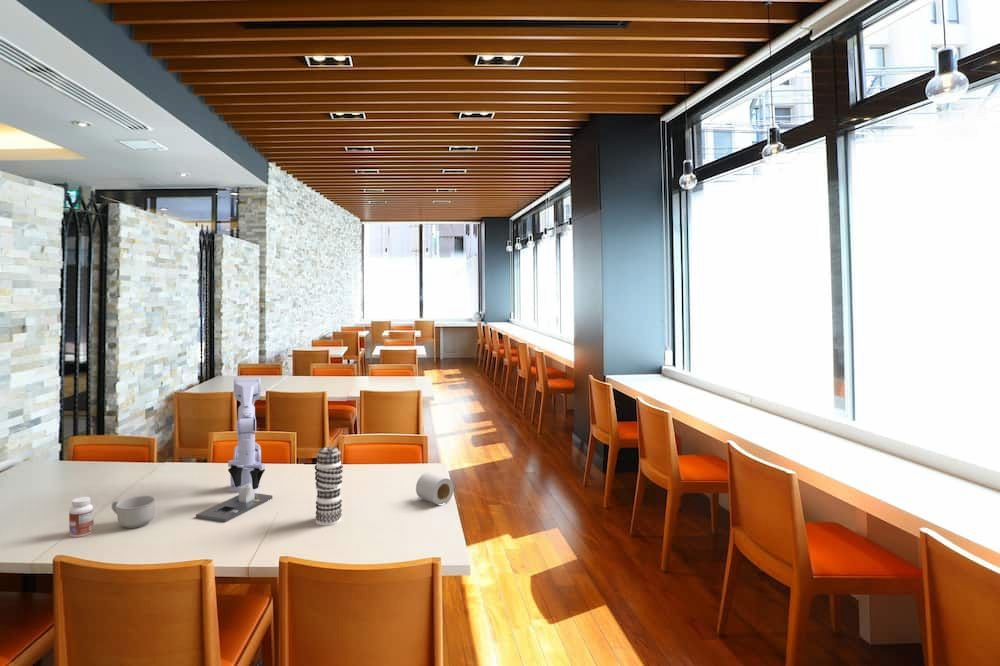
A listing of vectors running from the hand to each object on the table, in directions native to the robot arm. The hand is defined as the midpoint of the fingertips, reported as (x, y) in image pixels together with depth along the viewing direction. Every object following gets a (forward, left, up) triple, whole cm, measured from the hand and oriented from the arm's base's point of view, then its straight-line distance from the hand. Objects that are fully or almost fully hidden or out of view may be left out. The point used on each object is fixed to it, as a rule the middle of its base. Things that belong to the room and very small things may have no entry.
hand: (246, 487), depth 209 cm
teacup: (-22, -27, -6) cm, 36 cm away
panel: (0, -5, -6) cm, 8 cm away
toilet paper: (+64, +25, -6) cm, 69 cm away
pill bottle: (-30, -38, -6) cm, 49 cm away
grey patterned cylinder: (+37, -4, -6) cm, 38 cm away
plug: (0, 0, -6) cm, 6 cm away
